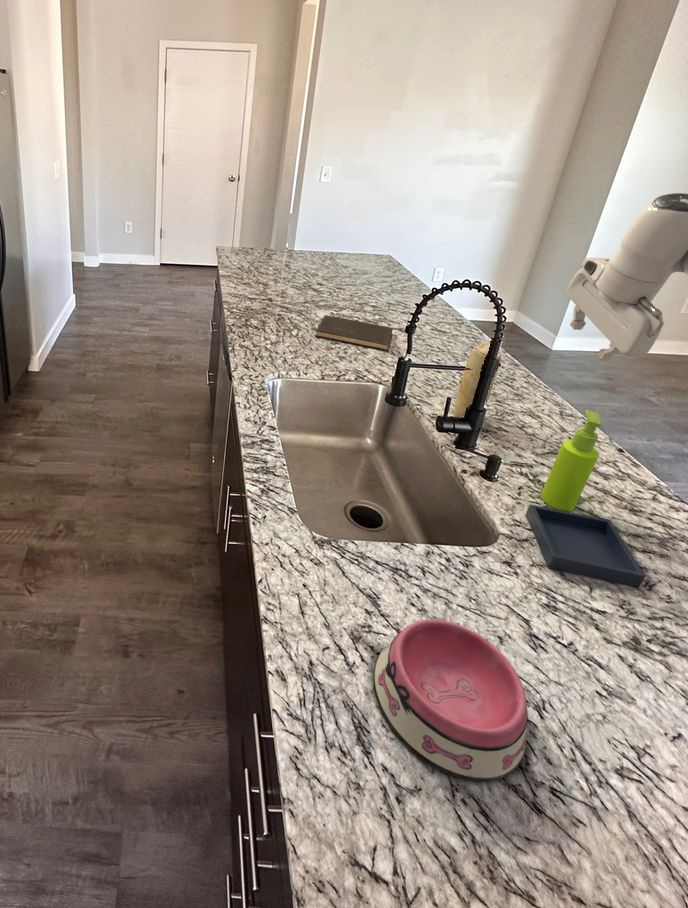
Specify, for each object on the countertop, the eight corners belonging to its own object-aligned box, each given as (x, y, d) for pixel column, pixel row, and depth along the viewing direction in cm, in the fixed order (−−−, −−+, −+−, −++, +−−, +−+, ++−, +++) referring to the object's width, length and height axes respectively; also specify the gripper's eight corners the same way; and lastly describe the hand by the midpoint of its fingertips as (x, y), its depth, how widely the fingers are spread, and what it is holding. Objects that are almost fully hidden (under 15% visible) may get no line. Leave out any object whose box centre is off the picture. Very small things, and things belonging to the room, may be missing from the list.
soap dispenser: (573, 495, 111) (610, 413, 102) (575, 515, 105) (615, 430, 97) (540, 484, 113) (574, 404, 105) (540, 504, 108) (576, 420, 99)
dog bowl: (352, 641, 79) (361, 609, 76) (472, 636, 81) (485, 605, 78) (410, 787, 63) (424, 754, 60) (559, 778, 64) (580, 745, 61)
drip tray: (604, 531, 102) (610, 519, 101) (638, 588, 90) (645, 576, 89) (525, 515, 105) (529, 504, 104) (548, 568, 93) (553, 556, 92)
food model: (484, 430, 132) (509, 357, 123) (454, 424, 133) (477, 352, 125) (477, 410, 140) (500, 340, 131) (449, 405, 142) (470, 336, 133)
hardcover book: (387, 351, 170) (388, 344, 169) (314, 336, 179) (315, 330, 178) (391, 333, 184) (393, 327, 183) (324, 320, 192) (325, 314, 191)
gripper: (687, 318, 88) (638, 379, 97) (612, 255, 104) (576, 312, 113) (648, 317, 88) (603, 378, 97) (579, 254, 104) (546, 311, 113)
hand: (588, 342), depth 105 cm, fingers open, 8 cm apart
